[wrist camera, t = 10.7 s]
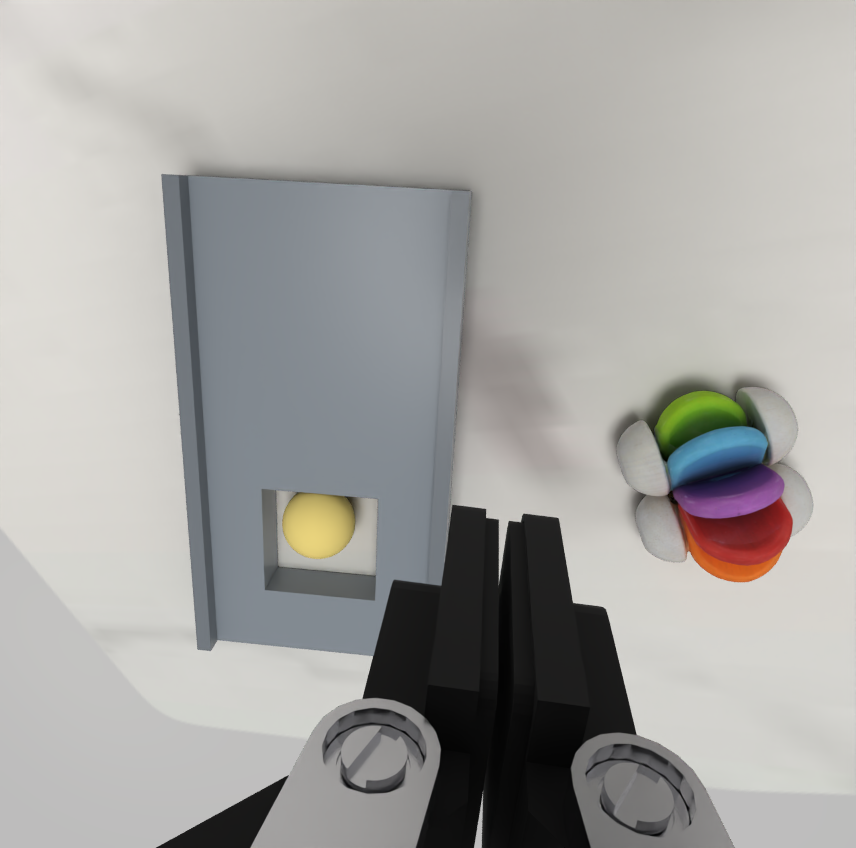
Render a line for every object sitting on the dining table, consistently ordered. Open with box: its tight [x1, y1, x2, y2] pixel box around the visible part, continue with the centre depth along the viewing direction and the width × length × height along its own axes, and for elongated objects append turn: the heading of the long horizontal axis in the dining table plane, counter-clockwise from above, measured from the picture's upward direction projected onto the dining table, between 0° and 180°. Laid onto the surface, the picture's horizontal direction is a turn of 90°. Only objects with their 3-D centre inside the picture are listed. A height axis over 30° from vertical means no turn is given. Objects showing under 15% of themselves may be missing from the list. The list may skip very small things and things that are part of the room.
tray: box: [161, 174, 472, 656], centre depth 36 cm, size 26×14×4 cm, turn 177°
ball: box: [282, 492, 355, 559], centre depth 37 cm, size 4×4×4 cm
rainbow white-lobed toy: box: [616, 387, 813, 582], centre depth 33 cm, size 8×10×7 cm
